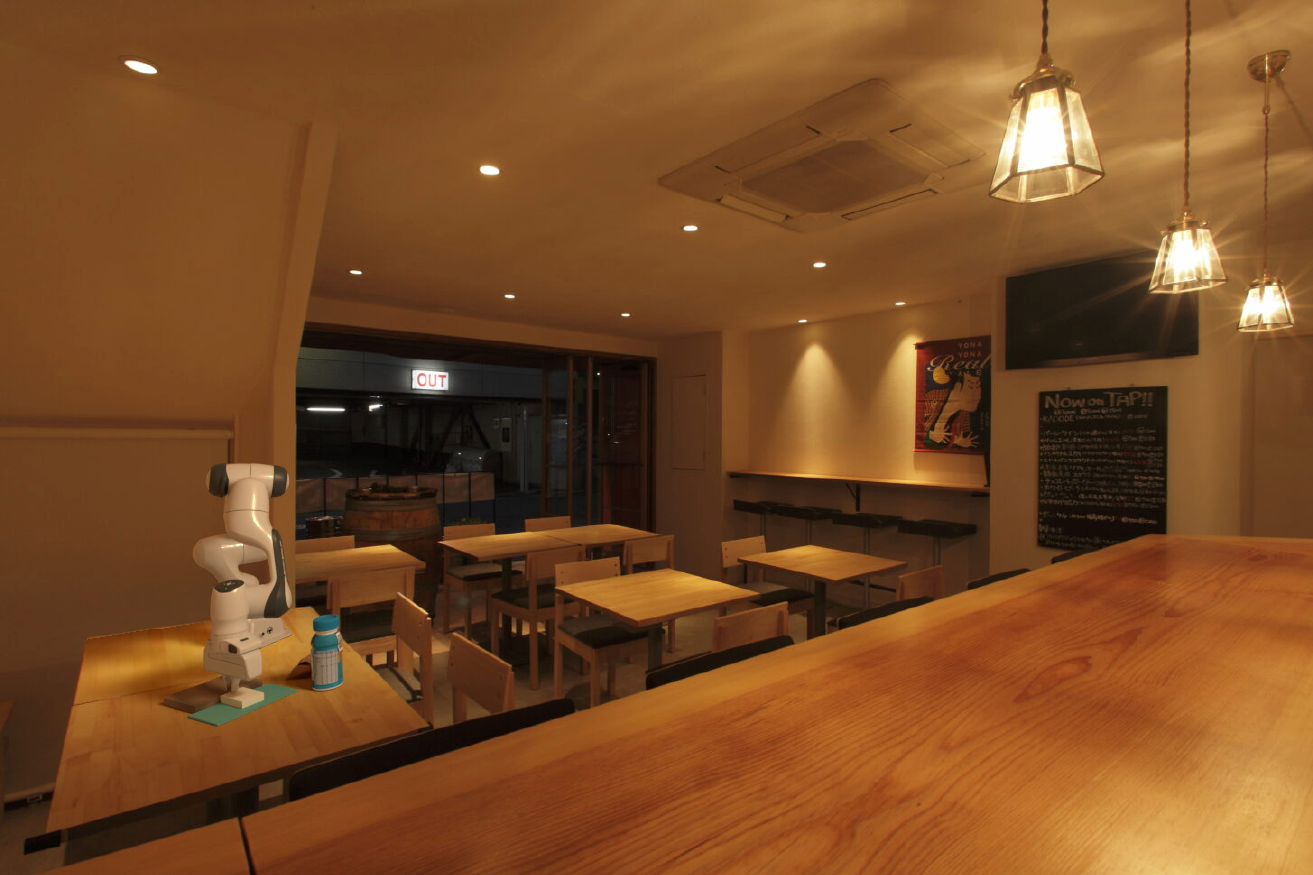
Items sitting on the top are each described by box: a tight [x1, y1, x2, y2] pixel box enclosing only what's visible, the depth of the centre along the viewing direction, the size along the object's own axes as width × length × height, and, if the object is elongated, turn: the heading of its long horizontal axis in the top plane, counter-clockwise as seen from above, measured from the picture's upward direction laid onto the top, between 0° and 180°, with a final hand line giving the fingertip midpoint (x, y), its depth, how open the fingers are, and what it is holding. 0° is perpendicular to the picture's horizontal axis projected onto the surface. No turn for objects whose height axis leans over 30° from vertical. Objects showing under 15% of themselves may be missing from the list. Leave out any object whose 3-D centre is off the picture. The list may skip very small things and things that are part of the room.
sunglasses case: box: [286, 653, 312, 682], centre depth 196 cm, size 18×7×7 cm, turn 16°
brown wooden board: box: [163, 675, 263, 714], centre depth 177 cm, size 18×14×2 cm
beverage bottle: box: [309, 614, 344, 692], centre depth 182 cm, size 8×8×20 cm
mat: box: [187, 682, 298, 727], centre depth 172 cm, size 22×12×1 cm, turn 156°
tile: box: [221, 687, 264, 709], centre depth 172 cm, size 6×9×2 cm, turn 66°
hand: (232, 690), depth 174 cm, fingers closed
